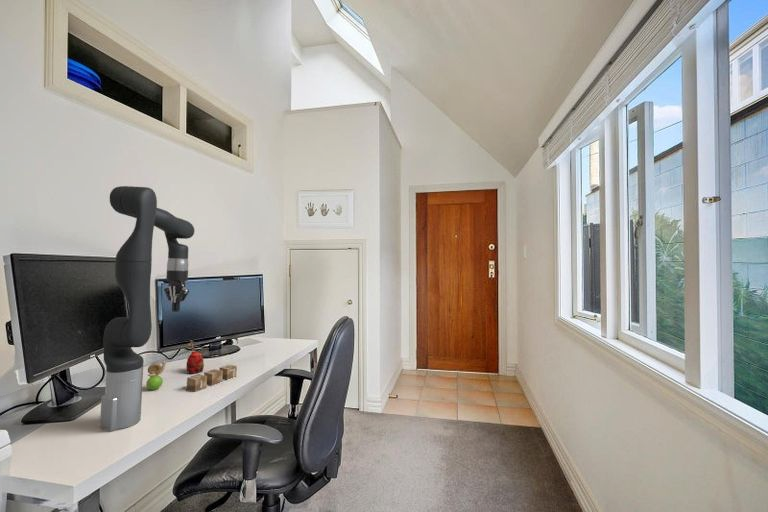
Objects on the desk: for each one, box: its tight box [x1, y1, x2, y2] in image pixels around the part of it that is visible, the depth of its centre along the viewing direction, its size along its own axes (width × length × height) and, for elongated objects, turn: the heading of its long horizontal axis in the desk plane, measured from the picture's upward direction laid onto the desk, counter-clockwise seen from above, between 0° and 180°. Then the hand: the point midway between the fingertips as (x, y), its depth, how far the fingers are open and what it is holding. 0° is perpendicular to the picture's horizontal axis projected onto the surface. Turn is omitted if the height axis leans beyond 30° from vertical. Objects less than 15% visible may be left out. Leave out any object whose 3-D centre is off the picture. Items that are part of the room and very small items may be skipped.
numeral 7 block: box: [218, 364, 238, 381], centre depth 145 cm, size 5×5×5 cm
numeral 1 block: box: [186, 373, 208, 393], centre depth 132 cm, size 5×5×5 cm
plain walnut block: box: [203, 368, 223, 387], centre depth 138 cm, size 5×5×5 cm
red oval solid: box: [185, 339, 205, 375], centre depth 152 cm, size 8×7×15 cm
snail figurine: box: [145, 357, 167, 391], centre depth 131 cm, size 5×6×12 cm
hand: (175, 311), depth 133 cm, fingers closed
